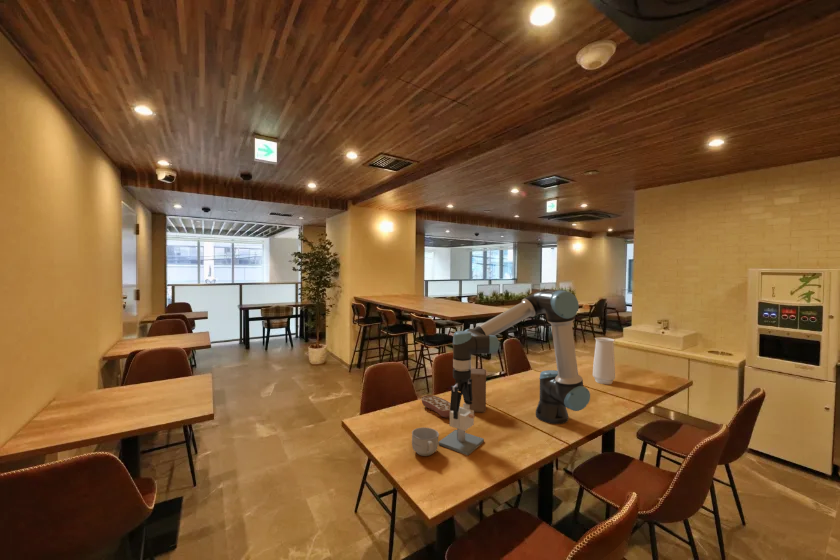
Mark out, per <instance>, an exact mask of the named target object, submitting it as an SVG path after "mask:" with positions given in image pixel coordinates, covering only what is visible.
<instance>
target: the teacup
mask: <svg viewBox="0 0 840 560" xmlns="http://www.w3.org/2000/svg"><path fill="white" fill-rule="evenodd" d="M439 436H440V433H439V431H438V430H436V429H434V428H432V427H431V428H430V427H424V426H423V427H417V428H415V429H413V430H411V446H412V447H411V448H412V449H413V451H414V452H416V454H417V455H419V456H423V457H427V456H431V455H433V454H434V453H436V452H437V450H438V447H439V445H438V442H439Z"/></svg>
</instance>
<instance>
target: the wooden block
mask: <svg viewBox="0 0 840 560" xmlns="http://www.w3.org/2000/svg"><path fill="white" fill-rule="evenodd" d="M470 370H471V378H470V379H472V398H473V400H472V401H471V402H472V404H470V410H474V413H486V410H487V409H486V408H487V404H486V403H487V370H486V369H483V368H471V369H470Z"/></svg>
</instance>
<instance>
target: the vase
mask: <svg viewBox="0 0 840 560" xmlns="http://www.w3.org/2000/svg"><path fill="white" fill-rule="evenodd" d="M594 340H595V345H594V356H593V363H592V364H593V366H592V377H593V378H594V381H595V382H596V383H598V384H602V385H611V384H613V381H614V380H615V379H616V365H615V364H616V363H615V362H616V361H615V347H614V342H615V339H614V338H611V337H610V338H609V337H602V336H601V337H594Z"/></svg>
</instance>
